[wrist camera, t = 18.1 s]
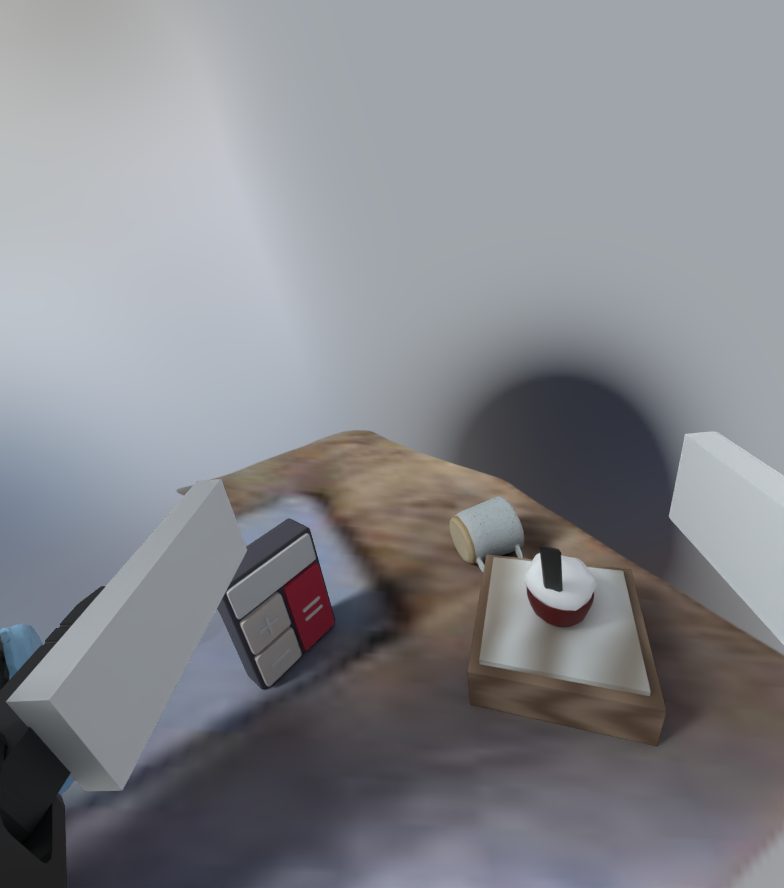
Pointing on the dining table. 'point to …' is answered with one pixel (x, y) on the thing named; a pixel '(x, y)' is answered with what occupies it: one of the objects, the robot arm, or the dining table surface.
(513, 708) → the walnut stand
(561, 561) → the cocoa
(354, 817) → the dining table surface
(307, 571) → the calculator
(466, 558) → the ceramic mug
